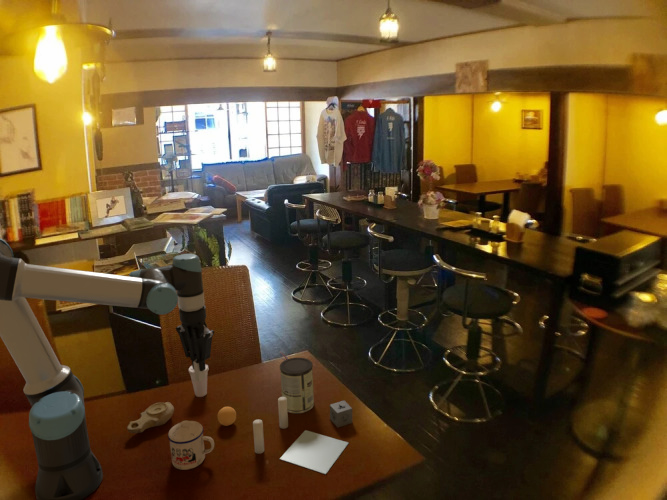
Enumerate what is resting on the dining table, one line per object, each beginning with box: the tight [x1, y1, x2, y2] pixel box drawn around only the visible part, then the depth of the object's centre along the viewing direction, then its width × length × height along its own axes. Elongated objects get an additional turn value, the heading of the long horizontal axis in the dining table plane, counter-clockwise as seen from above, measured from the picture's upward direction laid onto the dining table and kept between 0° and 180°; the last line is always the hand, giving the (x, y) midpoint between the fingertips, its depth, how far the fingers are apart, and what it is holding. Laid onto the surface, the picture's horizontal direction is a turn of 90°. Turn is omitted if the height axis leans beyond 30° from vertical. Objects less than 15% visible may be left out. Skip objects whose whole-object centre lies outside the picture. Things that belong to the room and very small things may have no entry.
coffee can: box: [279, 357, 315, 414], centre depth 159 cm, size 10×10×14 cm
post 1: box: [252, 419, 265, 455], centre depth 138 cm, size 3×3×9 cm
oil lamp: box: [126, 401, 175, 434], centre depth 151 cm, size 11×14×5 cm
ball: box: [217, 406, 237, 427], centre depth 151 cm, size 6×6×6 cm
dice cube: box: [329, 400, 353, 428], centre depth 151 cm, size 5×5×5 cm
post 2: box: [277, 396, 289, 429], centre depth 149 cm, size 3×3×9 cm
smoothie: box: [188, 363, 210, 398], centre depth 166 cm, size 6×6×14 cm
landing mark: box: [279, 429, 349, 475], centre depth 138 cm, size 14×14×1 cm
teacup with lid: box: [167, 420, 215, 471], centre depth 134 cm, size 12×9×12 cm
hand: (200, 379), depth 152 cm, fingers closed
